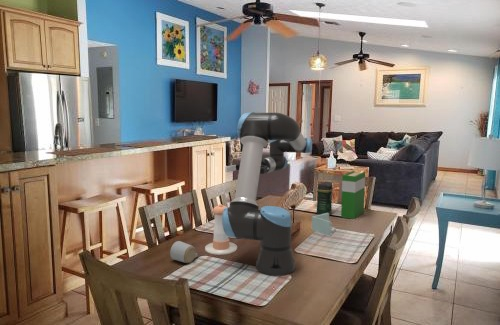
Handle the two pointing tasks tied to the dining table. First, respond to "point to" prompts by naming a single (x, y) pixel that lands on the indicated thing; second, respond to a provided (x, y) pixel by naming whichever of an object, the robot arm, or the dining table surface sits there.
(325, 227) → the l-shaped corner panel
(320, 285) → the dining table surface
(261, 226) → the robot arm
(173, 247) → the ceramic mug
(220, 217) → the pepper shaker
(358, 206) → the hardback book
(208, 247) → the cream saucer
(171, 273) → the dining table surface
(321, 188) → the coffee jar
